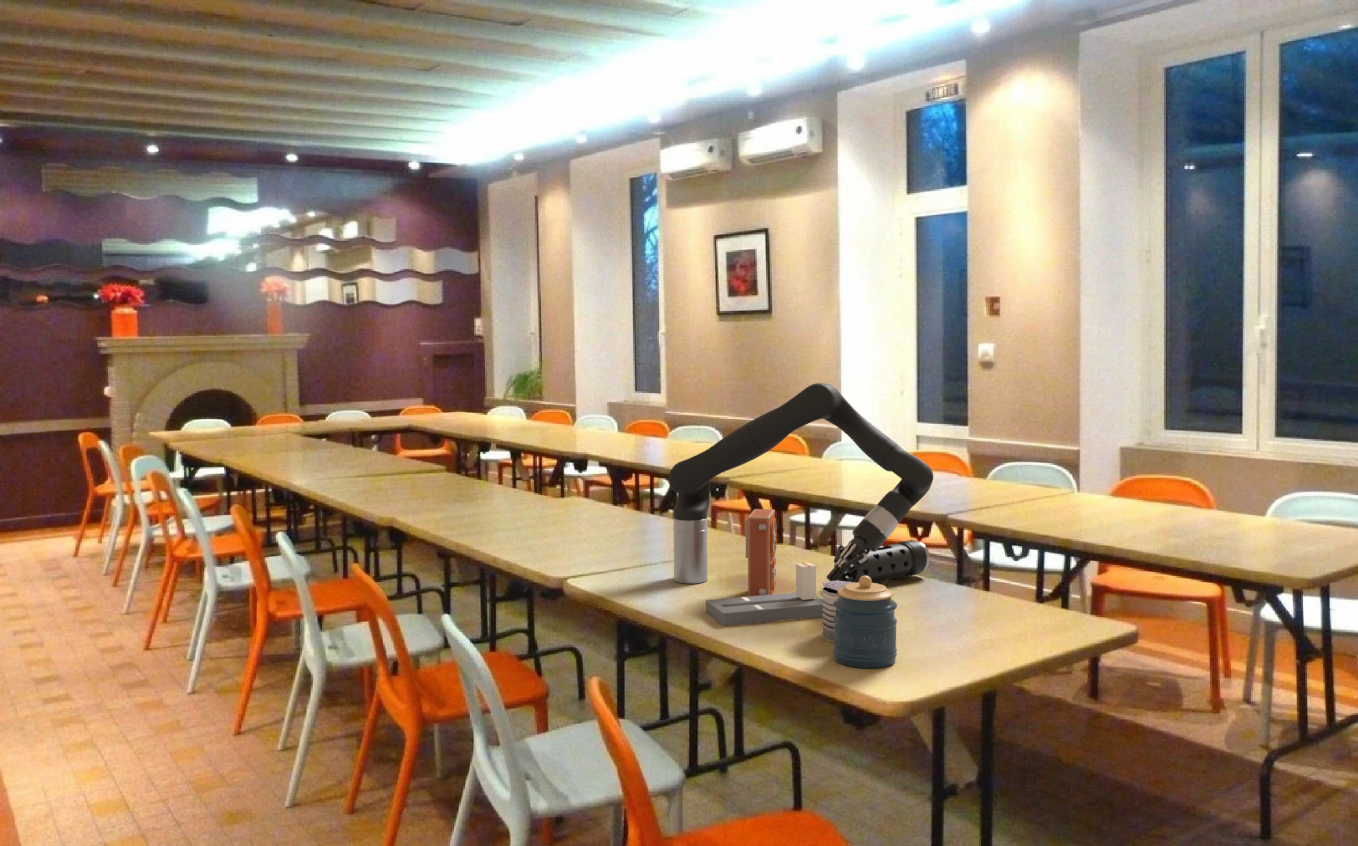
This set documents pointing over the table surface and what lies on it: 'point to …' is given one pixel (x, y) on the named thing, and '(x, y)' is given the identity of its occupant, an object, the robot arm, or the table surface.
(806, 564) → the fader tab
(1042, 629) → the table surface
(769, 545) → the control panel
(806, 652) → the table surface
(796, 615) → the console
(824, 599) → the can
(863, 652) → the canister
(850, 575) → the muzzle brake
